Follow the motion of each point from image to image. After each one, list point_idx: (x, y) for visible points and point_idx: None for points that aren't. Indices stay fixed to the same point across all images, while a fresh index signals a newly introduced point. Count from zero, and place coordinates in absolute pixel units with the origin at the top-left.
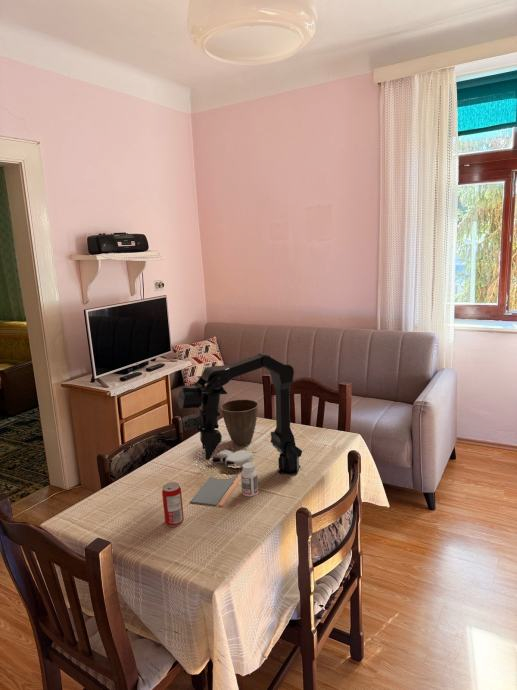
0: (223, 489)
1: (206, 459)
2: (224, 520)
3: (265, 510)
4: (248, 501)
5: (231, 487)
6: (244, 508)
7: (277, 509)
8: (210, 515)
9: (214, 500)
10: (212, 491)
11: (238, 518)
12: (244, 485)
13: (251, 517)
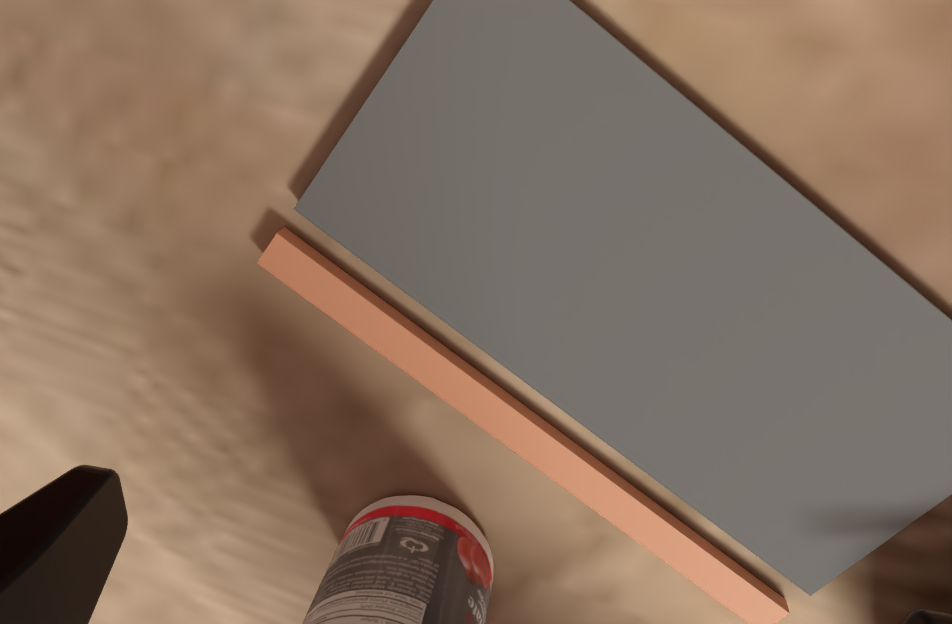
0: (571, 374)
1: (81, 475)
2: (25, 195)
3: None
4: (279, 485)
5: (567, 455)
6: (177, 416)
7: (97, 605)
8: (141, 93)
9: (383, 217)
10: (589, 256)
11: (33, 317)
12: (342, 575)
13: (28, 412)
